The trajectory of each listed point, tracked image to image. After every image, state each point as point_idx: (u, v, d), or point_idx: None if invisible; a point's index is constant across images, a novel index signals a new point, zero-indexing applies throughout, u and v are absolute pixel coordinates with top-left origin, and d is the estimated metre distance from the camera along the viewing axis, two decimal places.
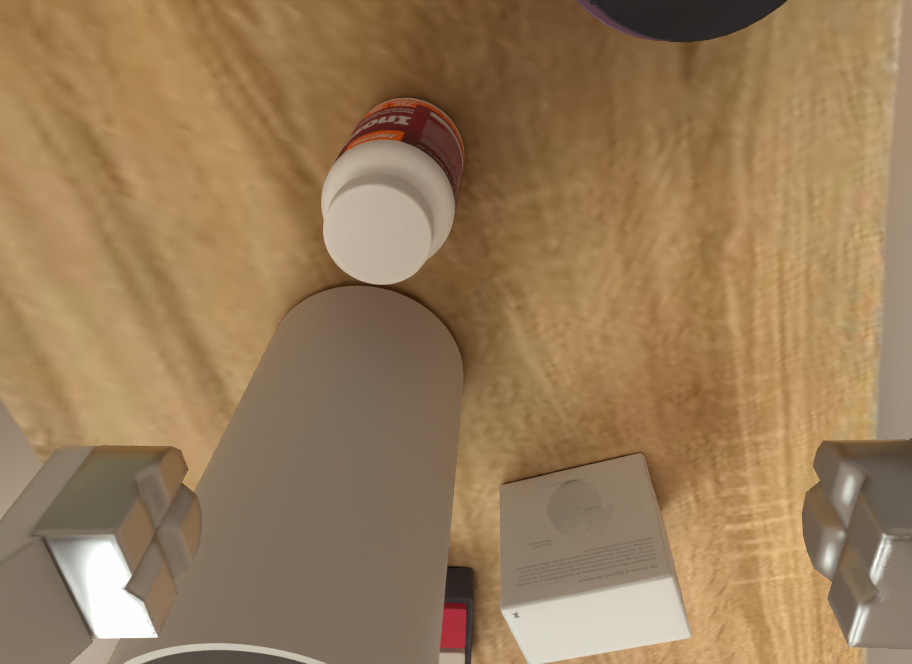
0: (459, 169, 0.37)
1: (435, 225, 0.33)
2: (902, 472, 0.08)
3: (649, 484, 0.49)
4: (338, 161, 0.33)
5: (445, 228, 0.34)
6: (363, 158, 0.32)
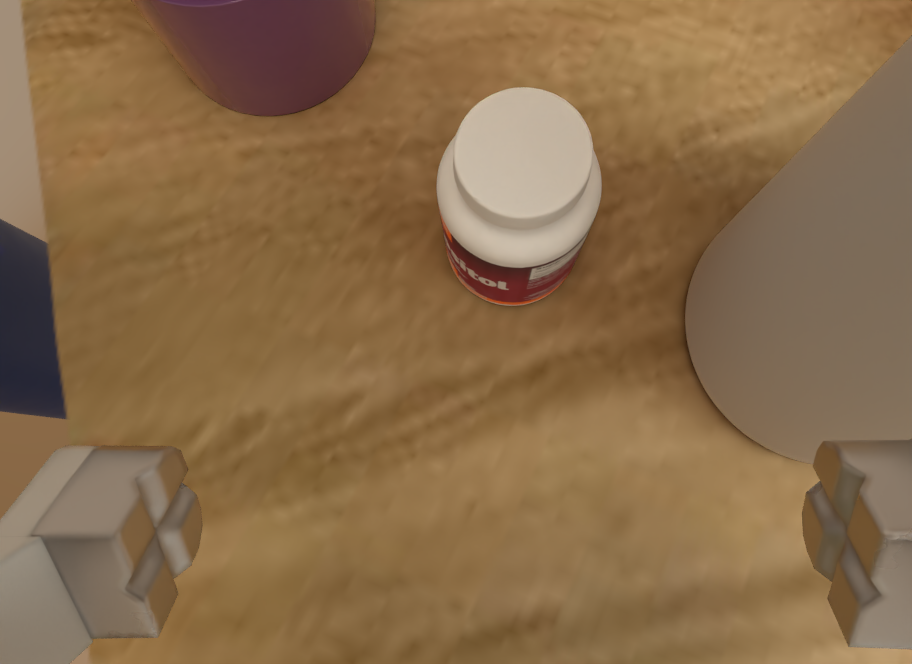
0: None
1: None
2: (901, 472, 0.08)
3: None
4: (455, 233, 0.27)
5: None
6: (446, 194, 0.27)
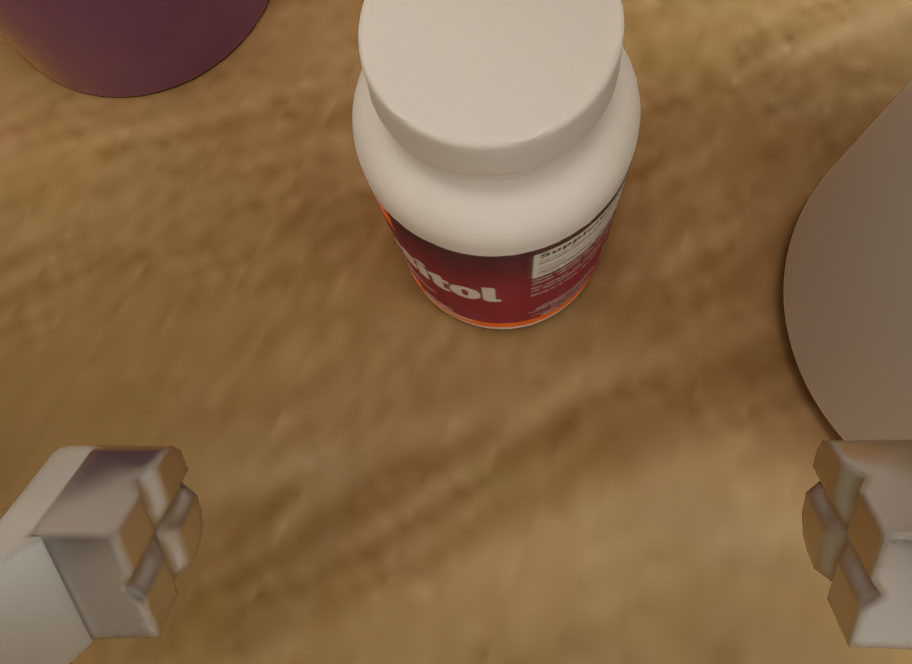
0: None
1: None
2: (902, 472, 0.08)
3: None
4: (391, 206, 0.15)
5: None
6: (367, 139, 0.15)
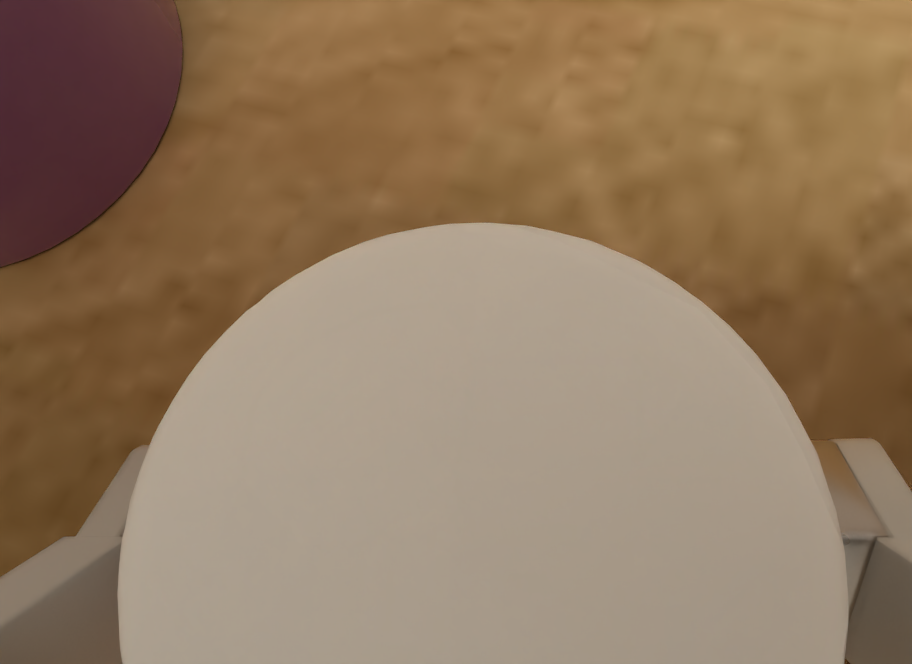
0: None
1: None
2: None
3: None
4: None
5: None
6: None
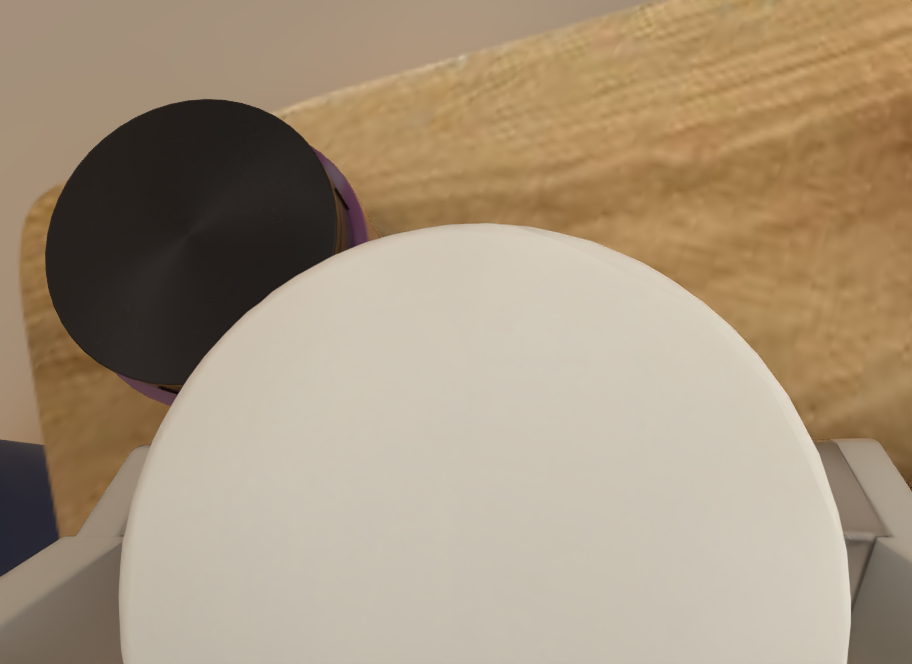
0: None
1: None
2: None
3: None
4: None
5: None
6: None
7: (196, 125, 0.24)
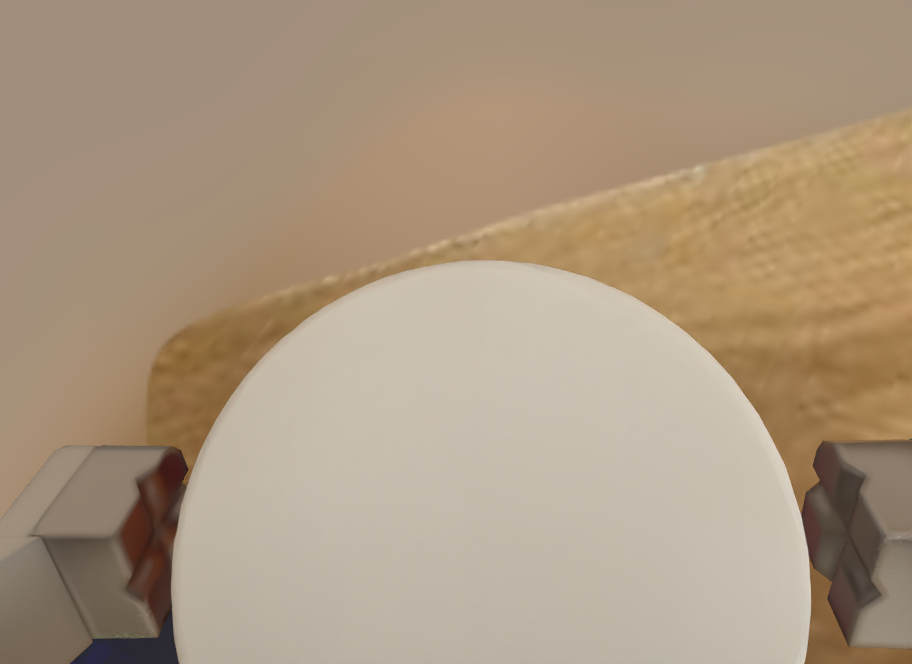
0: None
1: None
2: (902, 472, 0.08)
3: None
4: None
5: None
6: None
7: None
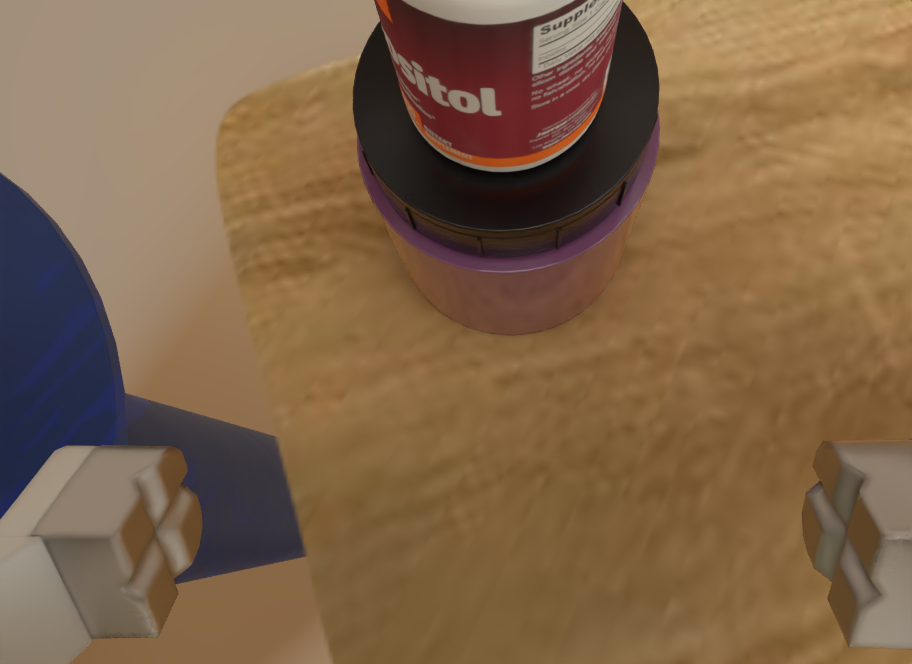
0: None
1: None
2: (902, 472, 0.08)
3: None
4: None
5: None
6: None
7: None
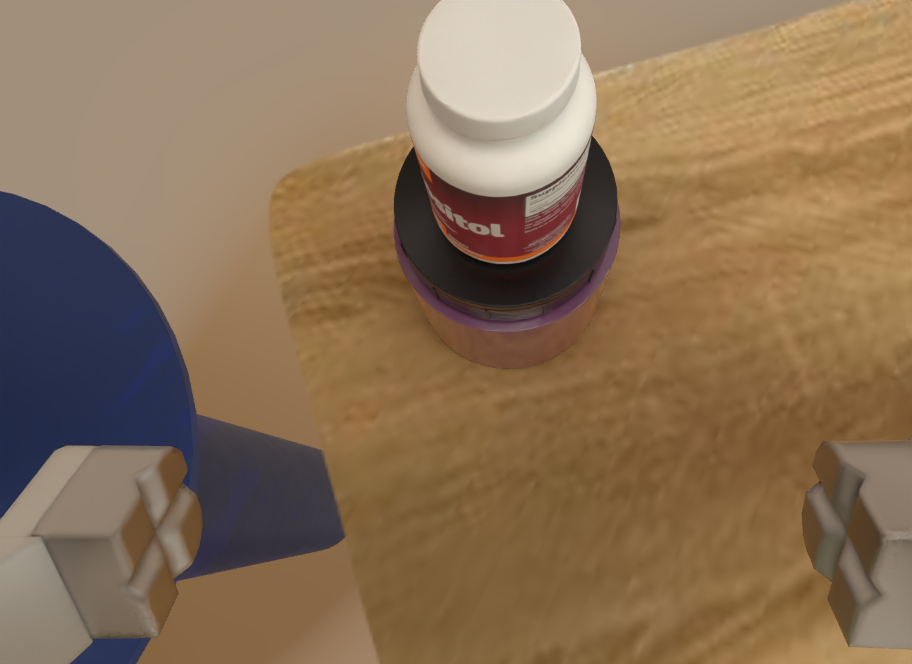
0: None
1: None
2: (902, 472, 0.08)
3: None
4: (432, 163, 0.24)
5: None
6: (417, 119, 0.23)
7: None
